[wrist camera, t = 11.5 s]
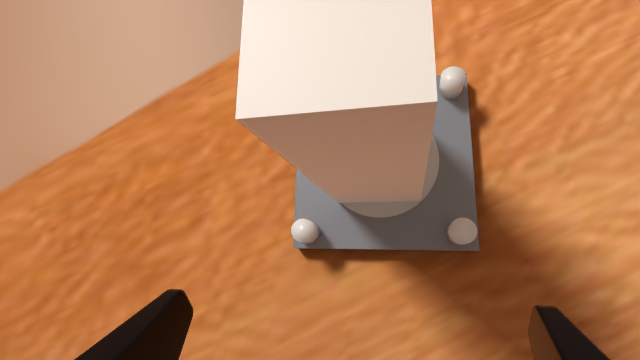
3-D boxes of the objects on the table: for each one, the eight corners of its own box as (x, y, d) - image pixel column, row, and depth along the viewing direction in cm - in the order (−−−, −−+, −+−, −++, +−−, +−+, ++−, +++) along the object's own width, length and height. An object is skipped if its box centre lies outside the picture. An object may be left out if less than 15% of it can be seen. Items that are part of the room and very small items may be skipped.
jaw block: (416, 122, 22) (426, -80, 9) (420, 201, 21) (437, 101, 8) (339, 128, 24) (246, -43, 10) (338, 202, 22) (235, 119, 9)
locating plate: (464, 80, 23) (470, 59, 21) (476, 251, 21) (484, 249, 19) (303, 95, 26) (292, 78, 24) (298, 248, 24) (285, 247, 21)
